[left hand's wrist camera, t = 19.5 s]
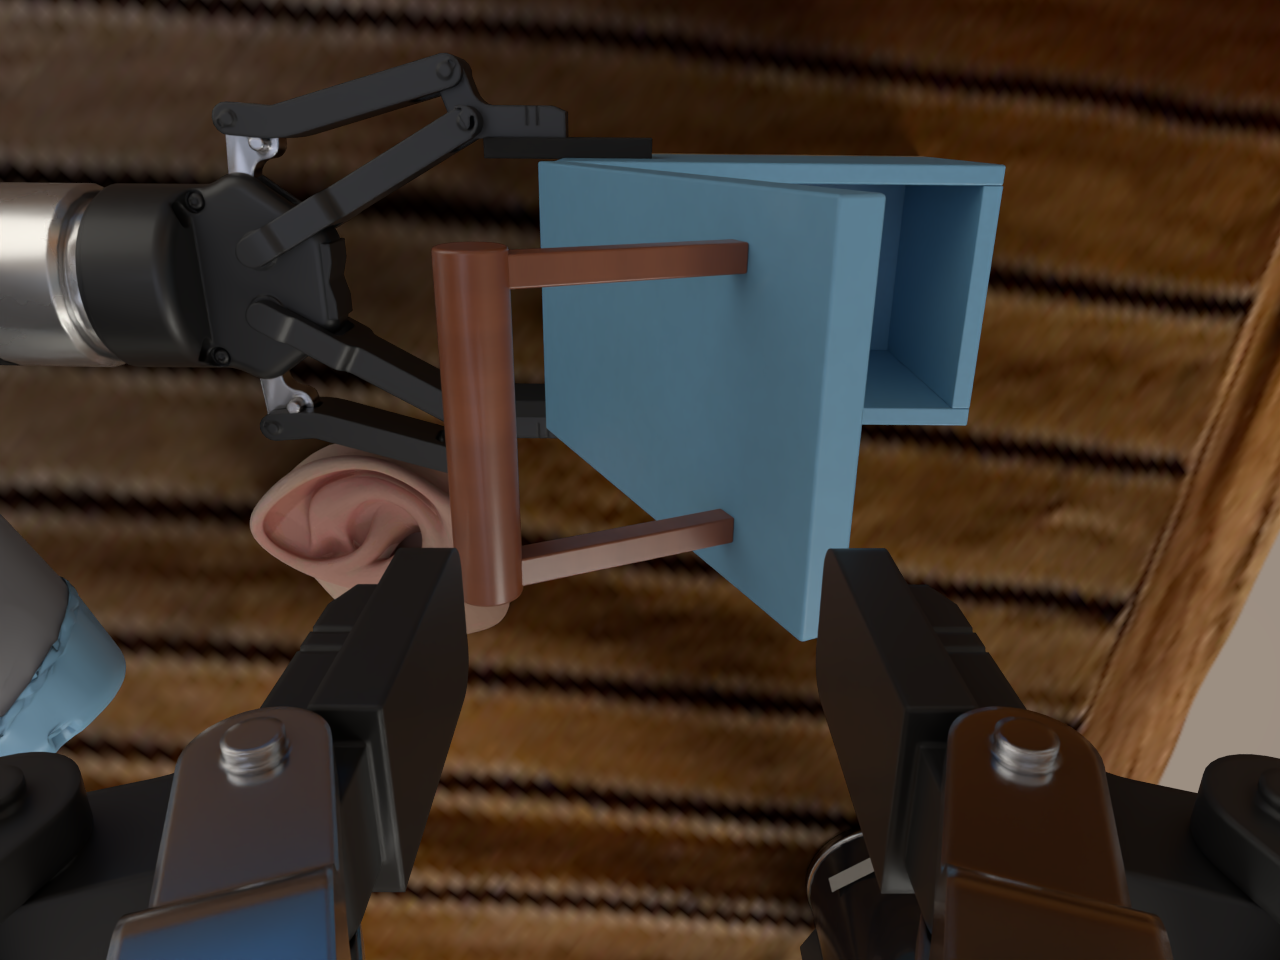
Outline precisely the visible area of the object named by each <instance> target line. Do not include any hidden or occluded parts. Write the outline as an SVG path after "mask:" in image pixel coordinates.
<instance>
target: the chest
mask: <svg viewBox="0 0 1280 960" xmlns="http://www.w3.org/2000/svg"><path fill="white" fill-rule="evenodd" d="M557 161H570V162H580V163H589V164H599V165H609V166H619V167H629V168H639V169H649V170H659V171H669V172H679V173H689V174H699V175H709V176H719V177H728V178H738V179H748V180H758V181H768V182H778V183H788V184H798V185H808V186H818V187H828V188H838V189H848V190H857V191H867V192H877V193H882V194H884V195H885V197H886V202H885V211H884V220H883V230H882V239H881V249H880V258H879V267H878V277H877V286H876V296H875V305H874V314H873V324H872V333H871V343H870V352H869V361H868V371H867V380H866V390H865V399H864V408H863V418H862V424H880V425H967V419H968V412H969V409H968V408H969V406H970V400H971V393H972V387H973V380H974V373H975V367H976V360H977V354H978V347H979V340H980V334H981V327H982V321H983V314H984V308H985V301H986V294H987V288H988V281H989V275H990V268H991V261H992V255H993V248H994V242H995V235H996V229H997V222H998V215H999V209H1000V202H1001V196H1002V189H1003V186H1001V185H1002V184H1003V180H1004V173H1005V166H1004V165H999V164H989V163H979V162H970V161H960V160H951V159H941V158H931V157H925V156H881V155H783V154H684V153H652V159H613V158H562V159H560V160H557Z"/></svg>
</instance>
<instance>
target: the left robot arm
mask: <svg viewBox="0 0 1280 960" xmlns="http://www.w3.org/2000/svg"><path fill="white" fill-rule="evenodd" d="M300 647H301V650H300V651H297V653H296V654H295V656H294V657H293V659H292V660H291V662H290V663H289V665H288V666H287V668H286V669H285V671H284V672H283V674H282V675H281V677H280V678H279V680H278V682H277V683H276V685H275V686H274V688H273V689H272V691H271V692H270V694H269V695H268V697H267V698H266V700H265V701H264V703H263V704H262V706H261V707H260V709H255V710H251V711H247V712H243V713H240V714H237V715H234V716H232V717H229V718H227V719H225V720H222V721H220V722H218V723H216V724H215V725H213V726H211V727H209V728H208V729H206V730H205V731H203V732H202V733H200V734H199V735H198V736H197V737H195V738H194V739H193V740H192V741H191V742H190V743H189V744H188V745H187V746H186V747H185V749H184V750H183V751H182V753H181V755H180V756H179V758H178V761H177V764H176V767H175V772H174V773H173V774H170V775H166V776H162V777H158V778H154V779H149V780H144V781H139V782H134V783H130V784H125V785H120V786H115V787H110V788H106V789H101V790H96V791H91V792H87V793H86V790H85V787H84V783H83V780H82V776H81V772H80V770H79V767H78V765H77V764H76V763H75V762H74V761H73V760H72V759H70V758H68V757H66V756H64V755H60V754H57V753H51V752H26V753H17V754H12V755H7V756H2V757H0V960H365V951H364V941H363V934H362V928H361V921H362V918H363V916H364V913H365V910H366V907H367V904H368V901H369V898H370V896H371V893H372V892H405V890H406V887H407V884H408V880H409V877H410V874H411V871H412V867H413V864H414V861H415V858H416V854H417V851H418V848H419V845H420V841H421V838H422V835H423V832H424V828H425V825H426V822H427V819H428V815H429V812H430V809H431V806H432V802H433V799H434V796H435V793H436V789H437V786H438V783H439V780H440V776H441V773H442V770H443V767H444V763H445V760H446V757H447V754H448V750H449V747H450V744H451V741H452V737H453V734H454V731H455V728H456V724H457V721H458V718H459V715H460V711H461V708H462V705H463V702H464V698H465V694H466V688H467V680H468V641H467V629H466V617H465V605H464V593H463V581H462V569H461V561H460V556H459V552H458V550H457V549H456V548H399V549H398V550H397V551H396V553H395V555H394V556H393V558H392V560H391V562H390V563H389V565H388V567H387V569H386V570H385V572H384V574H383V576H382V577H381V579H380V581H379V583H378V584H357V585H355V586H354V587H352V588H351V589H349V590H348V591H347V592H345V593H344V594H342V595H341V596H339V597H338V598H336V599H335V600H333V601H332V602H330V603H329V604H328V605H327V607H326V608H325V610H324V611H323V613H322V614H321V616H320V617H319V619H318V620H317V622H316V624H315V625H314V627H313V632H310V633H309V634H308V636H307V637H306V639H305V640H304V642H303V643H302V645H301V646H300ZM816 676H817V686H818V692H819V697H820V701H821V704H822V707H823V710H824V714H825V717H826V720H827V723H828V726H829V729H830V733H831V736H832V739H833V742H834V745H835V748H836V752H837V755H838V758H839V761H840V764H841V768H842V771H843V774H844V777H845V780H846V783H847V787H848V790H849V793H850V796H851V799H852V802H853V806H854V809H855V812H856V815H857V818H858V821H859V825H860V827H856V828H854V829H851V830H848V831H846V832H844V833H842V834H840V835H838V836H836V837H835V838H833V839H832V840H830V841H829V842H828V843H827V844H825V845H824V846H823V847H822V848H821V849H820V850H819V852H818V853H817V854H816V855H815V857H814V858H813V860H812V862H811V863H810V866H809V868H808V871H807V875H806V892H807V896H808V901H809V905H810V907H811V910H812V912H813V916H814V925H815V930H814V931H813V932H812V933H811V934H810V936H809V937H808V938H807V939H806V940H805V942H804V943H803V944H802V945H801V946H800V950H801V955H802V960H1280V759H1278V758H1274V757H1269V756H1262V755H1253V754H1238V755H1229V756H1225V757H1222V758H1218V759H1217V760H1215V761H1213V762H1211V763H1210V764H1209V765H1208V766H1207V767H1206V769H1205V771H1204V774H1203V777H1202V780H1201V784H1200V787H1199V791H1198V793H1194V792H1189V791H1184V790H1179V789H1174V788H1170V787H1165V786H1160V785H1155V784H1151V783H1146V782H1141V781H1136V780H1132V779H1128V778H1124V777H1120V776H1116V775H1113V774H1110V773H1107V772H1105V767H1104V764H1103V761H1102V758H1101V756H1100V755H1099V753H1098V751H1097V750H1096V749H1095V747H1094V746H1093V745H1092V744H1091V743H1090V742H1089V741H1088V740H1087V739H1086V738H1085V737H1083V736H1082V735H1081V734H1080V733H1078V732H1077V731H1075V730H1074V729H1072V728H1071V727H1069V726H1067V725H1065V724H1064V723H1062V722H1060V721H1058V720H1055V719H1053V718H1051V717H1048V716H1046V715H1043V714H1040V713H1037V712H1033V711H1029V710H1027V709H1026V708H1025V706H1024V705H1023V703H1022V702H1021V700H1020V699H1019V697H1018V696H1017V694H1016V693H1015V691H1014V690H1013V688H1012V687H1011V685H1010V684H1009V682H1008V681H1007V679H1006V678H1005V676H1004V675H1003V673H1002V672H1001V670H1000V669H999V667H998V666H997V664H996V663H995V661H994V660H993V658H992V657H991V655H990V654H989V652H985V646H984V645H983V643H982V642H981V640H980V639H979V637H978V636H977V634H976V633H973V632H972V627H971V625H970V624H969V622H968V621H967V619H966V618H965V616H964V615H963V613H962V612H961V610H960V609H959V607H958V606H957V604H955V603H954V602H952V601H951V600H949V599H948V598H946V597H945V596H943V595H942V594H940V593H939V592H937V591H936V590H935V589H933V588H932V587H930V586H929V585H908V584H907V583H906V581H905V579H904V578H903V576H902V574H901V572H900V571H899V569H898V567H897V566H896V564H895V562H894V561H893V559H892V557H891V555H890V554H889V552H888V551H887V550H886V549H885V548H829V549H828V550H827V552H826V555H825V559H824V566H823V576H822V588H821V600H820V612H819V624H818V635H817V647H816Z"/></svg>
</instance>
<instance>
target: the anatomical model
mask: <svg viewBox="0 0 1280 960" xmlns="http://www.w3.org/2000/svg"><path fill="white" fill-rule="evenodd" d="M250 529H251V532H252V535H253V536H254V538H255V539H256V541H257V542H258V543H259V544H260V545H261V546H262V547H263V548H264V549H265V550H266V551H268V552H269V553H270V554H271V555H273V556H274V557H276V558H277V559H279V560H280V561H282V562H284V563H286V564H287V565H289V566H291V567H293V568H295V569H297V570H299V571H301V572H303V573H305V574H308V575H310V576H312V577H314V578H315V579H316V580H317V581H318V582H319V583H320V584H321V585H322V586H323V587H324V589H325V590H326V591H327V592H328V593H329V594H330V595H331V596H332V597H333V598H334V599H336V598H338V597H339V596H341V595H342V594H344V593H345V592H347V591H348V590H349V589H351V588H352V587H354V586H355V585H357V584H378V583H379V581H380V579H381V577H382V576H383V574H384V572H385V570H386V569H387V567H388V565H389V563H390V562H391V560H392V558H393V556H394V555H395V553H396V551H397V550H398V549H399V548H453V535H452V522H451V508H450V495H449V482H448V473H445V472H441V471H437V470H433V469H429V468H426V467H422V466H418V465H414V464H411V463H407V462H403V461H399V460H395V459H392V458H388V457H384V456H380V455H376V454H373V453H369V452H365V451H361V450H357V449H354V448H350V447H346V446H342V445H339V444H332V445H329V446H327V447H324V448H322V449H320V450H319V451H317V452H315V453H313V454H312V455H310V456H309V457H307V458H306V459H305V460H303V461H302V462H301V463H300V464H299V465H297V466H296V467H295V468H294V469H293V470H292V471H291V472H290V473H288V474H287V475H286V476H284V477H283V478H282V479H280V480H279V481H278V482H277V483H276V484H275V485H273V486H272V487H271V488H270V489H269V490H268V491H267V492H266V493H265V495H264V496H263V497H262V498H261V500H260V501H259V502H258V504H257V505H256V507H255V508H254V510H253V512H252V514H251V518H250ZM509 603H510V602H509ZM509 603H507V604H503V605H499V606H493V607H479V606H473V605H470V604H467V603H465V602H464V605H465V617H466V629H467V634H469V633H473V632H478V631H481V630H485V629H488V628H490V627H492V626H494V625H496V624H497V623H499V622H500V621H501V620H502V619H503V618H504V616H505V615H506V613H507V610H508V607H509Z"/></svg>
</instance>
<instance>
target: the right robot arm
mask: <svg viewBox="0 0 1280 960" xmlns="http://www.w3.org/2000/svg"><path fill="white" fill-rule="evenodd" d="M440 96H441V97H442V99H443V102H444V104H445V107H446V109H447V112H448V113H446V114H445V115H443V116H442V117H440V118H438V119H437V120H435V121H434V122H432V123H431V124H429V125H427V126H426V127H424V128H423V129H421V130H419V131H418V132H416V133H415V134H413V135H411V136H410V137H408V138H407V139H405V140H403V141H402V142H400V143H399V144H397V145H395V146H394V147H392V148H391V149H389V150H387V151H386V152H384V153H383V154H381V155H379V156H378V157H376V158H375V159H373V160H371V161H370V162H368V163H367V164H365V165H364V166H362V167H360V168H359V169H357V170H356V171H354V172H352V173H351V174H349V175H348V176H346V177H344V178H343V179H341V180H340V181H338V182H336V183H335V184H333V185H332V186H330V187H328V188H327V189H325V190H323V191H321V192H318V193H317V194H315V195H313V196H311V197H310V198H308V199H306V200H305V201H303V202H301V201H300V200H298V199H297V198H296V197H294V196H293V195H291V194H290V193H288V192H287V191H286V190H284V189H283V188H281V187H280V186H278V185H277V184H275V183H274V182H273V181H271V180H270V179H268V178H267V177H265V176H264V175H262V169H263V166H264V164H265V163H266V162H267V161H268V160H270V159H273V158H278V157H280V156H282V155H283V154H284V153H285V151H286V148H287V139H286V138H295V137H305V136H310V135H314V134H318V133H321V132H324V131H328V130H331V129H334V128H337V127H341V126H344V125H347V124H351V123H354V122H357V121H360V120H364V119H367V118H370V117H374V116H377V115H380V114H384V113H387V112H390V111H393V110H397V109H400V108H403V107H407V106H410V105H413V104H417V103H420V102H423V101H426V100H430V99H433V98H436V97H440ZM212 120H213V123H214V125H215V127H216V128H217V129H218V130H219V131H220V132H222V133H223V134H226V145H227V158H228V170H229V174H227V175H225V176H223V177H222V178H220V179H219V180H217V181H215V182H213V183H210V184H112V185H109V186H107V187H105V188H104V187H101V186H99V185H97V184H94V183H0V365H36V366H87V367H115V366H119V365H123V364H125V363H127V364H129V365H133V366H138V367H231V368H236V369H240V370H243V371H245V372H247V373H249V374H251V375H253V376H255V377H258V378H260V381H261V385H262V389H263V394H264V398H265V402H266V407H267V411H268V414H267V415H266V416H265V417H264V418H263V419H262V420H261V422H260V429H261V431H262V433H263V434H264V436H265V437H266V438H268V439H270V440H276V441H279V440H294V439H310V438H316V439H320V440H323V441H327V442H331V443H335V444H339V445H342V446H346V447H350V448H354V449H357V450H361V451H365V452H369V453H373V454H376V455H380V456H384V457H388V458H392V459H395V460H399V461H403V462H407V463H411V464H414V465H418V466H422V467H426V468H429V469H433V470H437V471H441V472H445V473H448V468H447V455H446V442H445V428H444V426H441V425H437V424H434V423H430V422H426V421H423V420H419V419H415V418H411V417H408V416H404V415H400V414H397V413H393V412H389V411H385V410H382V409H378V408H374V407H371V406H367V405H363V404H359V403H356V402H352V401H348V400H344V399H339V398H332V397H319V395H318V392H317V390H316V389H315V388H313V387H311V386H309V385H304V384H300V383H298V382H296V381H295V380H294V379H293V378H292V376H291V374H290V371H289V370H291V369H292V368H293V367H295V366H296V365H297V364H298V363H300V362H301V361H302V360H304V359H305V358H306V357H307V356H310V357H312V358H314V359H316V360H318V361H319V362H321V363H323V364H325V365H327V366H329V367H331V368H333V369H336V370H339V371H347V372H350V373H352V374H354V375H356V376H358V377H360V378H361V379H363V380H365V381H367V382H369V383H371V384H373V385H375V386H377V387H379V388H381V389H383V390H384V391H386V392H388V393H390V394H392V395H394V396H396V397H398V398H400V399H402V400H404V401H405V402H407V403H409V404H411V405H413V406H415V407H417V408H419V409H421V410H423V411H425V412H427V413H428V414H430V415H432V416H434V417H436V418H438V419H440V420H442V421H444V415H443V402H442V388H441V375H440V369H438V368H436V367H434V366H432V365H430V364H428V363H427V362H425V361H423V360H421V359H419V358H417V357H415V356H413V355H412V354H410V353H408V352H406V351H404V350H402V349H400V348H398V347H397V346H395V345H393V344H391V343H389V342H387V341H385V340H383V339H382V338H380V337H378V336H376V335H375V334H374V333H373V332H372V330H371V329H370V328H368V327H367V326H365V325H363V324H361V323H359V322H357V321H356V320H354V319H352V318H350V317H348V313H350V312H351V311H352V302H351V293H350V291H349V288H348V285H347V283H346V280H345V277H344V269H345V263H346V248H345V239H344V238H340V237H339V234H338V233H337V231H336V229H335V228H337V227H338V226H340V225H342V224H343V223H345V222H347V221H348V220H350V219H351V218H353V217H355V216H356V215H358V214H359V213H360V212H361V211H363V210H364V209H366V208H368V207H369V206H371V205H373V204H374V203H376V202H377V201H379V200H381V199H382V198H384V197H385V196H387V195H389V194H390V193H392V192H394V191H395V190H397V189H398V188H400V187H402V186H403V185H405V184H407V183H408V182H410V181H411V180H413V179H415V178H416V177H418V176H420V175H421V174H423V173H424V172H426V171H428V170H429V169H431V168H433V167H434V166H436V165H437V164H439V163H441V162H442V161H444V160H446V159H447V158H449V157H450V156H452V155H454V154H455V153H457V152H459V151H460V150H462V149H463V148H465V147H467V146H468V145H470V144H472V143H473V142H475V141H476V140H478V139H480V138H483V141H484V158H533V159H562V158H613V159H652V138H599V137H568V112H567V111H565V110H562V109H560V108H558V107H555V106H521V105H491V104H488V103H487V102H485V101H484V100H483V99H482V97H481V96H480V94H479V92H478V90H477V87H476V85H475V82H474V80H473V77H472V70H471V68H470V66H469V64H468V63H467V62H466V61H465V60H463V59H461V58H459V57H456V56H454V55H450V54H448V53H440V54H436V55H433V56H430V57H427V58H423V59H420V60H417V61H414V62H410V63H407V64H404V65H401V66H397V67H394V68H391V69H388V70H384V71H381V72H378V73H375V74H371V75H368V76H365V77H362V78H358V79H355V80H352V81H349V82H345V83H342V84H339V85H336V86H332V87H329V88H326V89H323V90H319V91H316V92H313V93H310V94H307V95H303V96H300V97H297V98H294V99H290V100H287V101H284V102H281V103H277V104H274V105H266V104H255V103H240V102H220V103H219V104H217V105H216V106H215V107H214V109H213V111H212ZM514 385H515V408H516V431H517V438H558V437H556V436H555V435H554V434H553V433H552V432H550V431H549V430H548V429H547V427H546V398H545V384H514ZM125 671H126V664H125V659H124V656H123V654H122V652H121V650H120V648H119V647H118V646H117V645H116V643H115V642H114V641H113V639H112V638H111V637H110V636H109V634H108V633H107V632H106V630H105V629H104V628H103V627H102V625H101V624H100V623H99V621H98V620H97V619H96V618H95V616H94V615H93V614H92V612H91V611H90V610H89V609H88V607H87V606H86V605H85V603H84V602H83V601H82V599H81V598H80V597H79V596H78V593H77V591H76V589H75V588H74V587H73V586H72V585H71V584H70V583H69V581H68V580H66V579H64V578H63V577H60V576H58V575H57V574H56V573H55V571H54V570H53V569H52V568H51V567H50V566H49V565H48V564H47V563H46V562H45V561H44V560H43V559H42V558H41V557H40V556H39V554H38V553H37V552H36V551H35V550H34V549H33V548H32V547H31V546H30V545H29V544H28V543H27V542H26V541H25V540H24V539H23V537H22V536H21V535H20V534H19V533H18V532H17V531H16V530H15V529H14V528H13V527H12V526H11V525H10V524H9V523H8V522H7V520H6V519H5V518H4V517H3V516H2V515H1V514H0V757H2V756H7V755H12V754H17V753H26V752H51V753H56V752H57V751H58V750H59V748H60V747H61V746H62V745H63V744H65V743H66V742H67V741H68V740H69V739H71V738H72V737H73V736H75V735H76V734H78V733H79V732H81V731H82V730H83V729H85V728H86V727H87V726H88V725H89V724H90V723H91V722H92V721H93V720H94V719H95V718H96V717H97V716H98V715H99V714H100V713H101V712H102V711H103V710H104V709H105V708H106V707H107V705H108V704H109V703H110V702H111V701H112V699H113V698H114V697H115V695H116V694H117V692H118V690H119V689H120V687H121V685H122V683H123V680H124V677H125Z"/></svg>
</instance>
